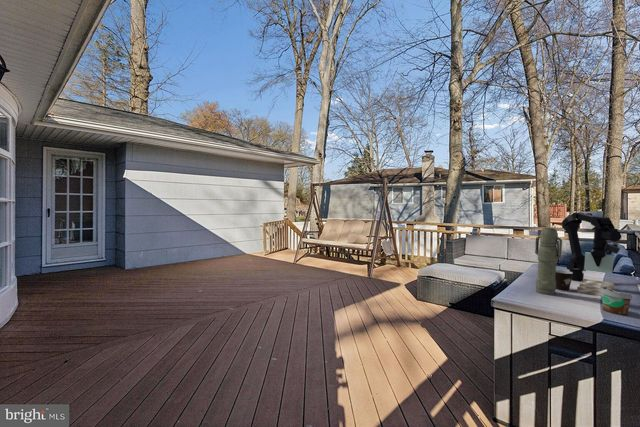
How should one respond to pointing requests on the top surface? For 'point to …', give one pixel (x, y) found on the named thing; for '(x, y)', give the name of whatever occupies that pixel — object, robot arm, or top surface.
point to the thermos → (547, 260)
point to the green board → (605, 264)
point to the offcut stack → (593, 285)
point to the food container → (615, 301)
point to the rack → (592, 291)
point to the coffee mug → (563, 279)
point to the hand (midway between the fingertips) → (598, 265)
